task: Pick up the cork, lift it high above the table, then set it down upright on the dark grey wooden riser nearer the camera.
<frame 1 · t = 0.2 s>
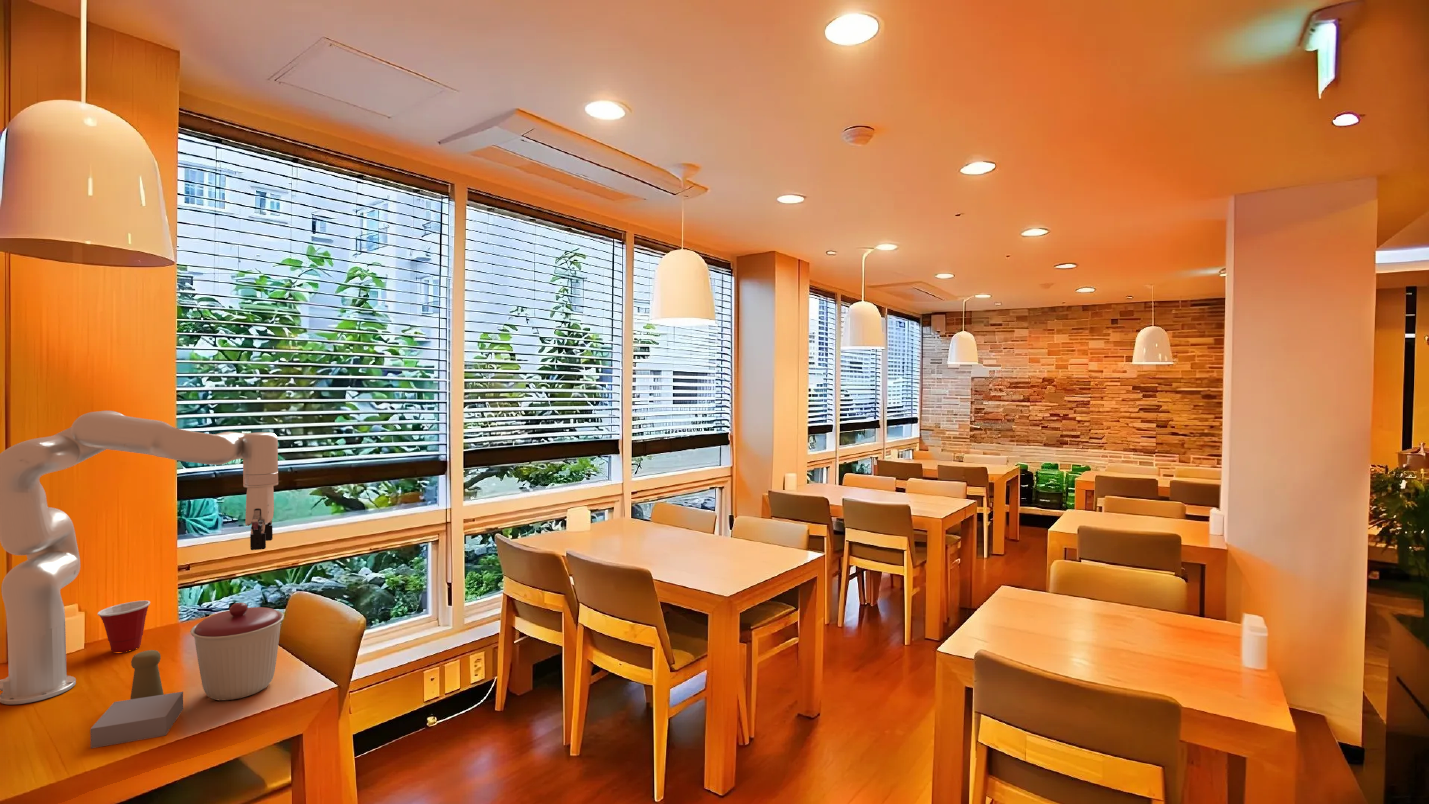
hand: (261, 544, 173), 31 cm above the table, tool pointing down, fingers open, 9 cm apart
cork: (146, 699, 153), on the table
plastic cup: (125, 650, 181), on the table
canister: (239, 691, 158), on the table
riser: (139, 727, 141), on the table
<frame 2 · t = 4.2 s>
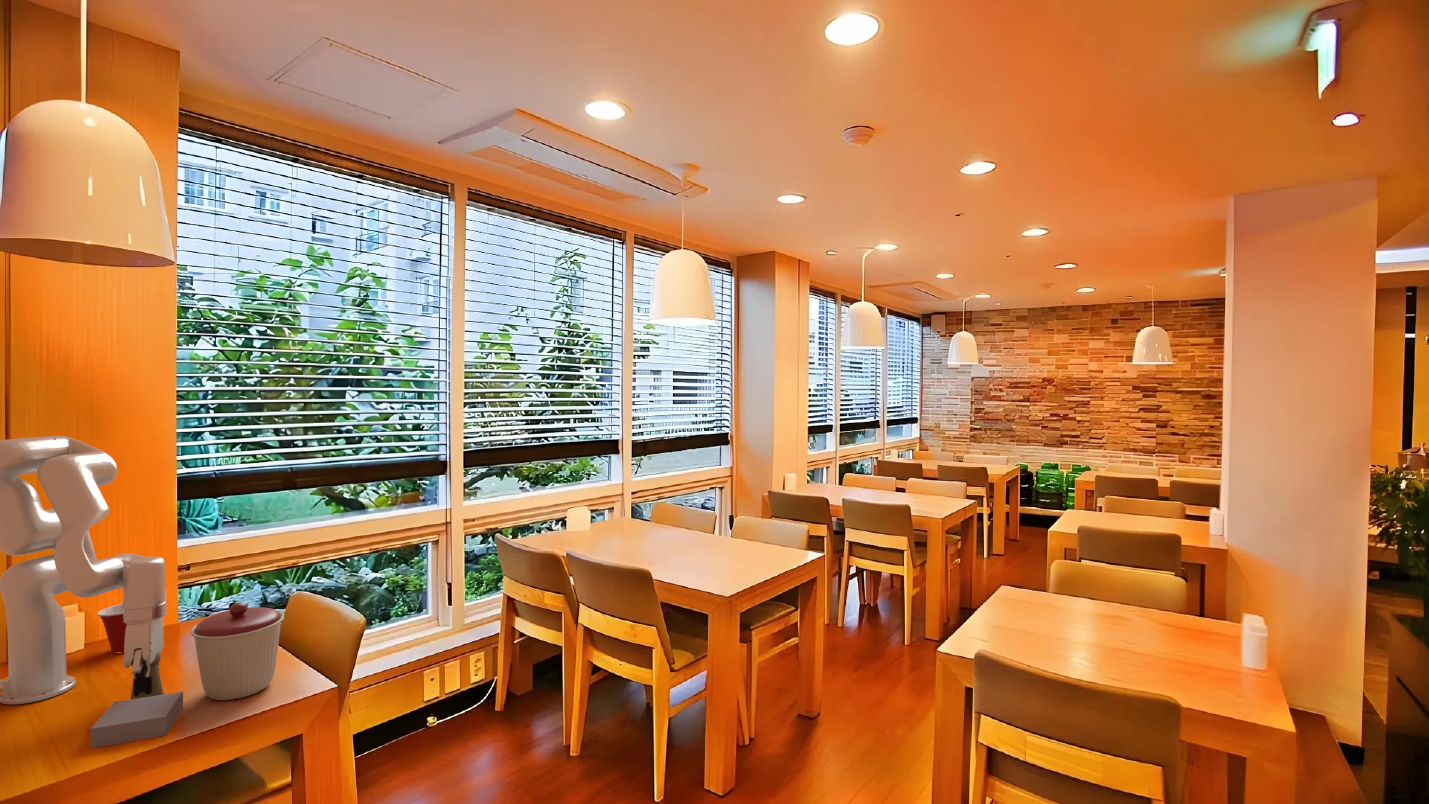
hand: (146, 689, 153), 2 cm above the table, tool pointing down, fingers closed on cork, 4 cm apart
cork: (147, 699, 153), on the table, touching gripper
everything else where it was.
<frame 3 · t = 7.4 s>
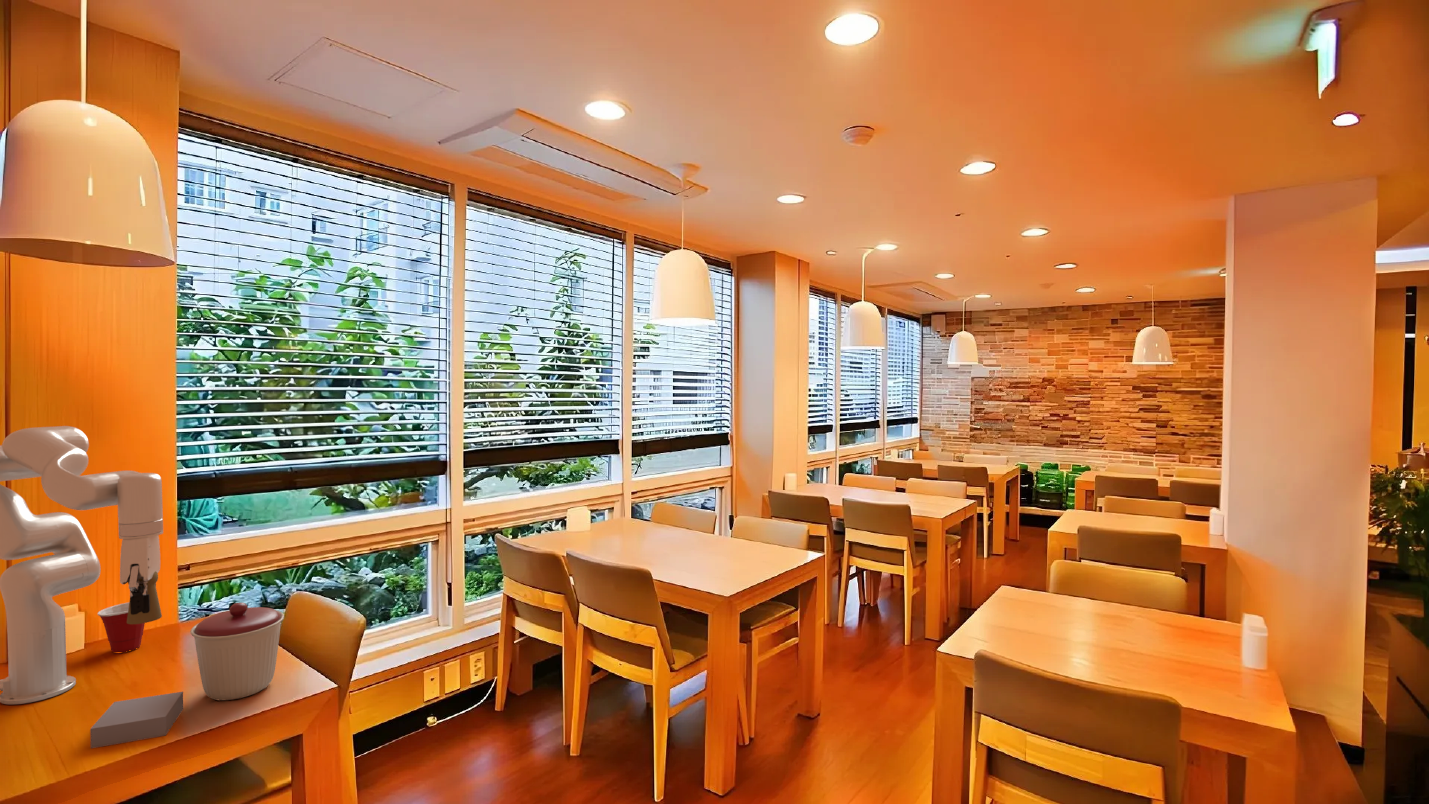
hand: (143, 609, 148), 23 cm above the table, tool pointing down, fingers closed on cork, 4 cm apart
cork: (144, 620, 148), point 20 cm above the table, touching gripper
everything else where it was.
when the fingers open (8 cm above the table, at t = 11.1 s): cork stays where it is, resting on riser.
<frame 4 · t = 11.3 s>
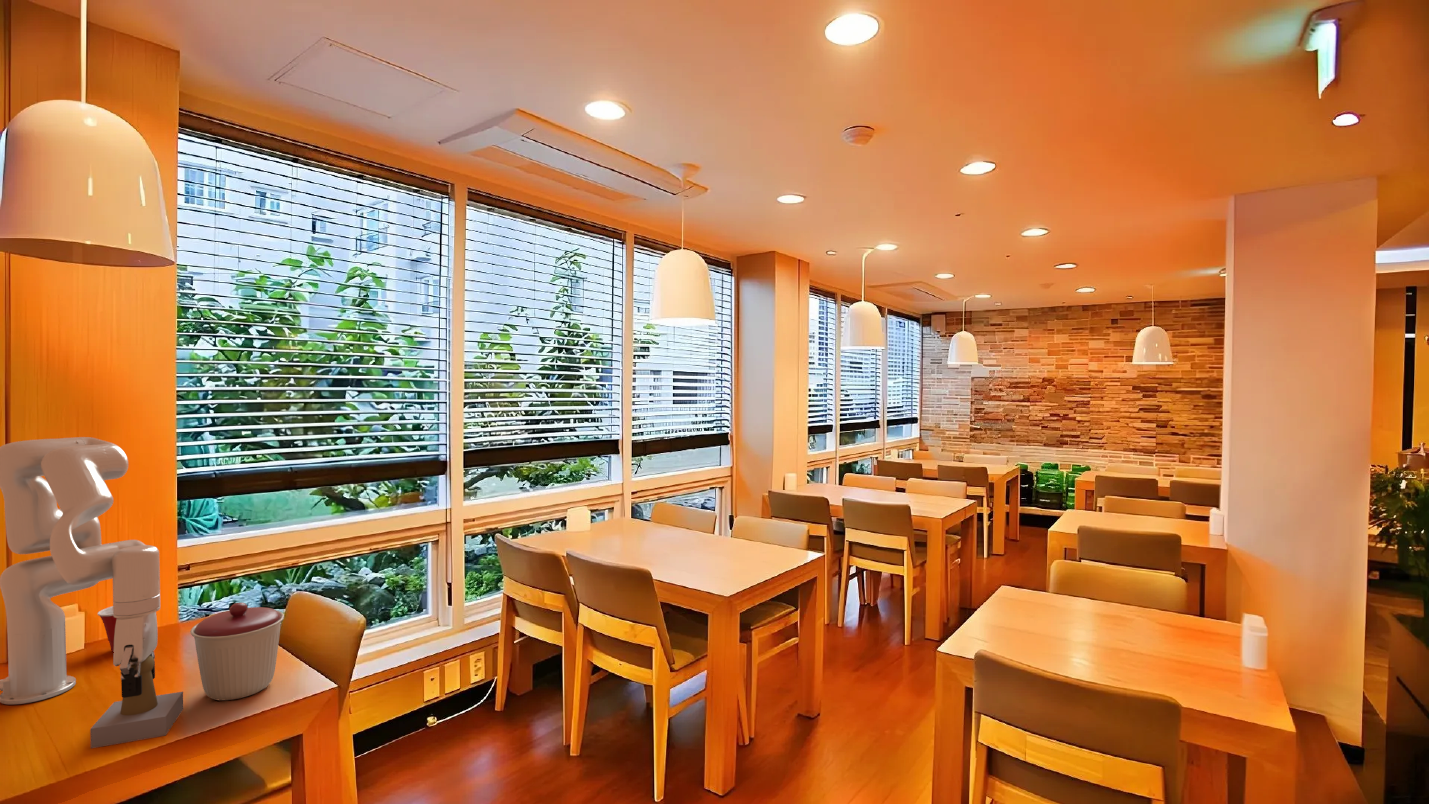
hand: (138, 687, 141), 9 cm above the table, tool pointing down, fingers open, 7 cm apart
cork: (139, 709, 141), point 4 cm above the table, touching riser
everything else where it was.
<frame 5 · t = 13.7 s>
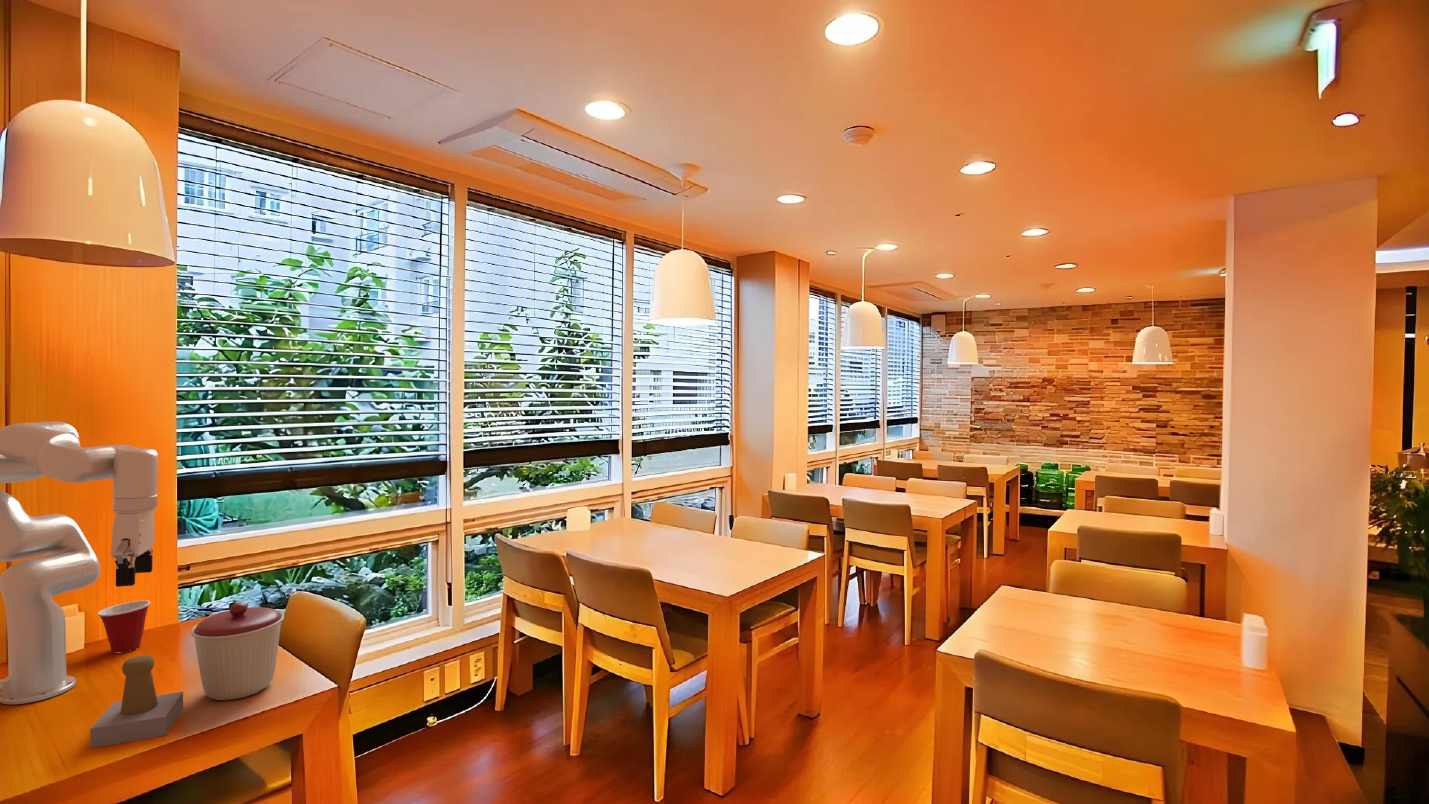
hand: (134, 578, 149), 29 cm above the table, tool pointing down, fingers open, 9 cm apart
nothing on the table moved.
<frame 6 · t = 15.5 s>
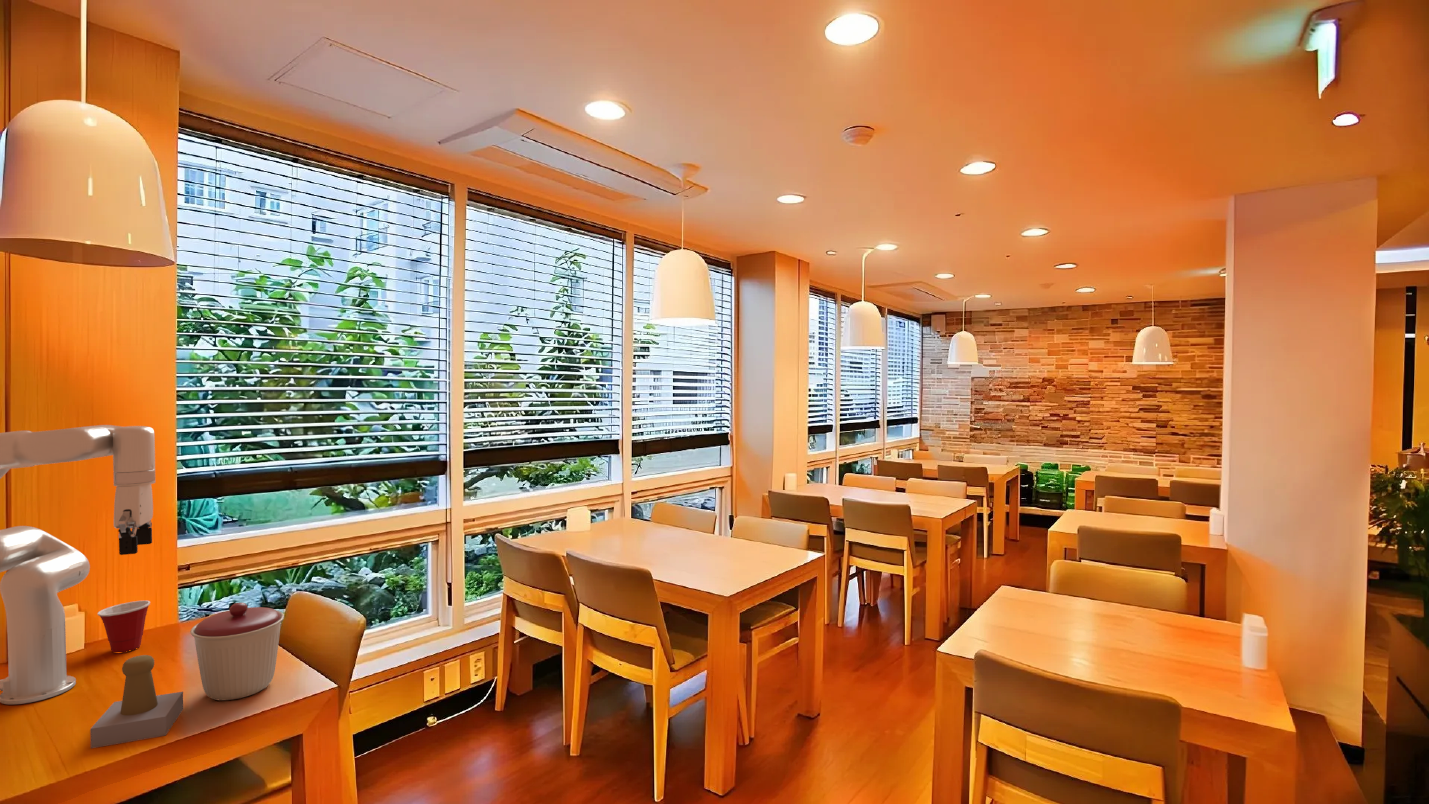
hand: (136, 549, 159), 33 cm above the table, tool pointing down, fingers open, 9 cm apart
nothing on the table moved.
at the end: cork inside the target area on the riser (0.4 cm from its centre), point 3.8 cm above the riser's base; cork tilted 0°; the gripper is holding nothing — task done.
